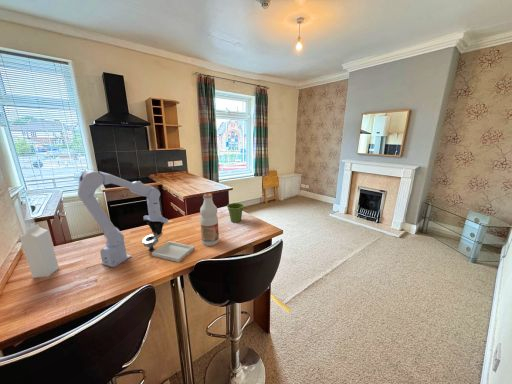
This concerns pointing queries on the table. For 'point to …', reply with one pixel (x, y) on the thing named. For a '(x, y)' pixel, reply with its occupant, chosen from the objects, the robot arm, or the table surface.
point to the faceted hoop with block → (152, 237)
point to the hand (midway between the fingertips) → (157, 233)
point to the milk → (39, 252)
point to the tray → (173, 251)
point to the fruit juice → (209, 221)
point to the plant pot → (235, 211)
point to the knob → (151, 249)
